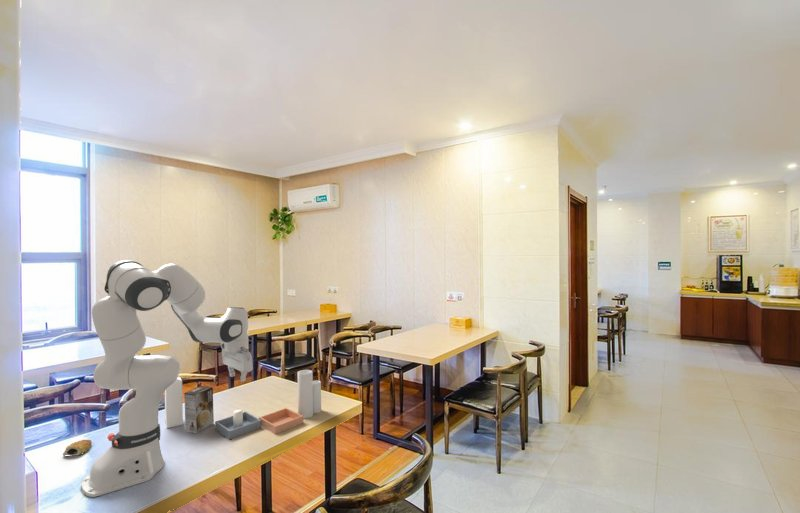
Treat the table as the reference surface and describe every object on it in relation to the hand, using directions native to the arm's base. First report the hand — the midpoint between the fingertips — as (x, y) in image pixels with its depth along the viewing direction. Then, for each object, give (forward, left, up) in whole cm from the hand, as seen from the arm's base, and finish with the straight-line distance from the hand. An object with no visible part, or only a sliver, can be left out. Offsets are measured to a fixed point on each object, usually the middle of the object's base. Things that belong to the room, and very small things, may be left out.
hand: (237, 378), depth 160 cm
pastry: (-48, +28, -22) cm, 59 cm away
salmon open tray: (+14, -10, -21) cm, 27 cm away
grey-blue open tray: (0, 0, -21) cm, 21 cm away
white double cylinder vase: (+28, -10, -21) cm, 37 cm away
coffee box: (-10, +14, -21) cm, 27 cm away
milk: (-16, +26, -21) cm, 37 cm away
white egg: (0, 0, -21) cm, 21 cm away
